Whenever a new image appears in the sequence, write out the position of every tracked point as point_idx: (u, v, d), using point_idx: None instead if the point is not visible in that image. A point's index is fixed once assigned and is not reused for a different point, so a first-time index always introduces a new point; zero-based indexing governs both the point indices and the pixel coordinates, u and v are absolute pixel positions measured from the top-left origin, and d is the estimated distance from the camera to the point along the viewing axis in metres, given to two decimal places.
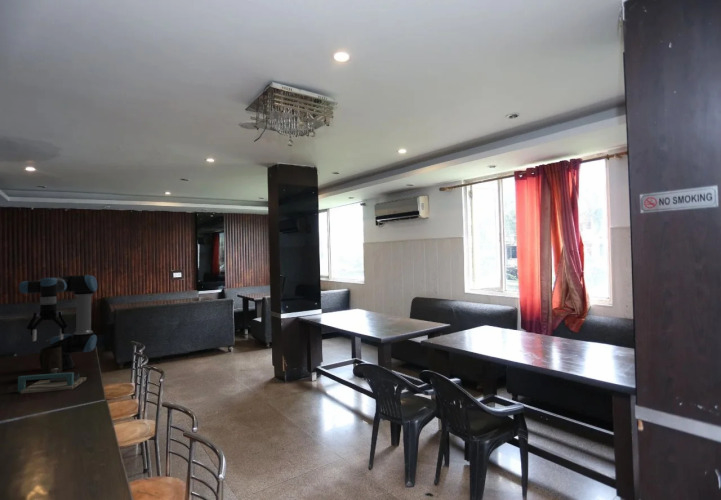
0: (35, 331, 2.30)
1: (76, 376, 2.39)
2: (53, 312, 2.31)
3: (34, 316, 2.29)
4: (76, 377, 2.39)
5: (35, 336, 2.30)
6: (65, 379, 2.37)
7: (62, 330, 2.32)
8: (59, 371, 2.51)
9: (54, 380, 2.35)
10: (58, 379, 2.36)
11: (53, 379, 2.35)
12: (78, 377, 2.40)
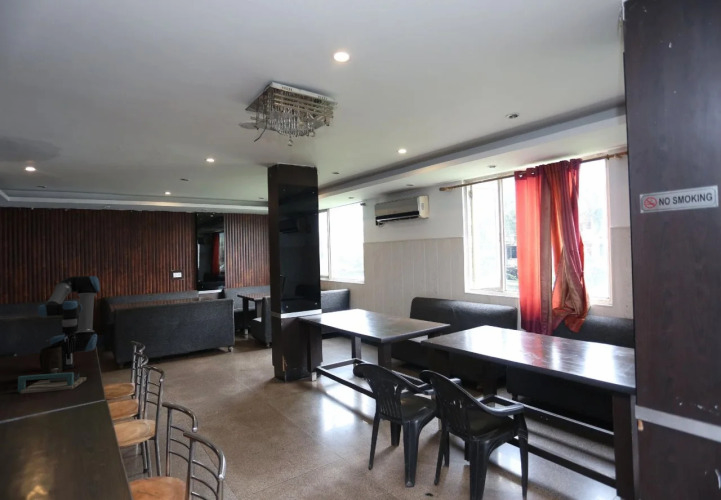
0: None
1: (76, 376, 2.39)
2: None
3: None
4: (76, 377, 2.39)
5: None
6: (65, 379, 2.37)
7: None
8: (59, 371, 2.51)
9: (54, 380, 2.35)
10: (58, 379, 2.36)
11: (53, 379, 2.35)
12: (78, 377, 2.40)
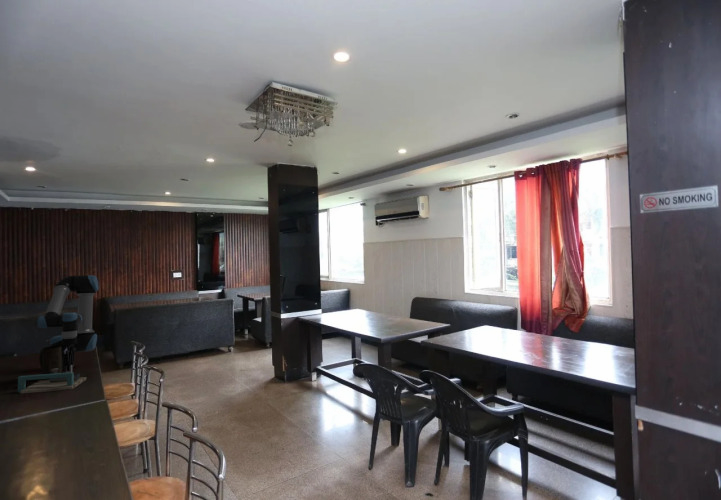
0: None
1: (76, 376, 2.39)
2: None
3: None
4: (76, 377, 2.39)
5: (69, 371, 2.45)
6: (65, 379, 2.37)
7: None
8: (59, 371, 2.51)
9: (54, 380, 2.35)
10: (58, 379, 2.36)
11: (53, 379, 2.35)
12: (78, 377, 2.40)
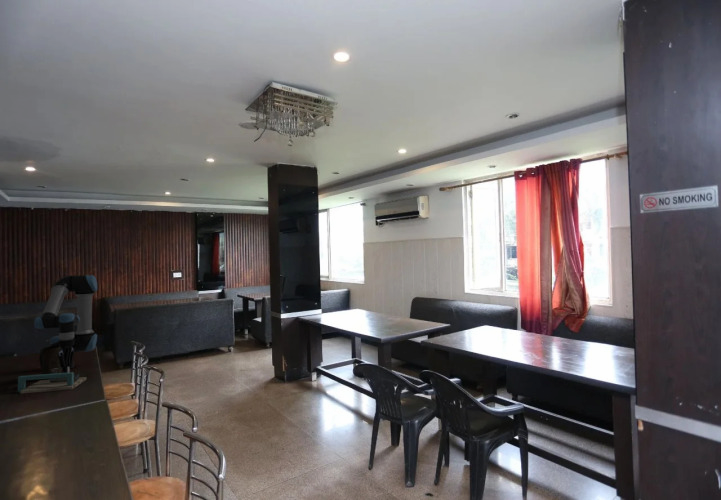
0: None
1: (75, 376, 2.38)
2: None
3: None
4: (76, 377, 2.38)
5: None
6: (65, 379, 2.37)
7: None
8: (59, 371, 2.51)
9: (54, 380, 2.35)
10: (58, 379, 2.36)
11: (53, 379, 2.35)
12: (77, 378, 2.39)
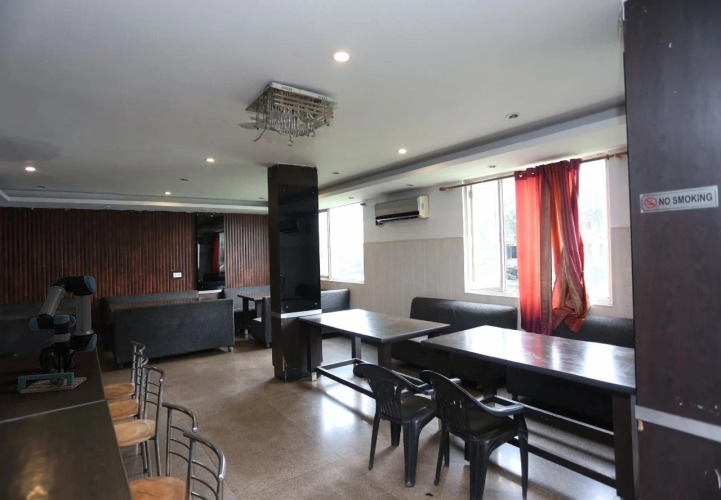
0: None
1: (57, 381, 2.28)
2: None
3: None
4: (57, 382, 2.28)
5: None
6: (54, 382, 2.32)
7: None
8: None
9: (50, 380, 2.35)
10: (52, 380, 2.34)
11: (50, 379, 2.35)
12: (59, 383, 2.29)
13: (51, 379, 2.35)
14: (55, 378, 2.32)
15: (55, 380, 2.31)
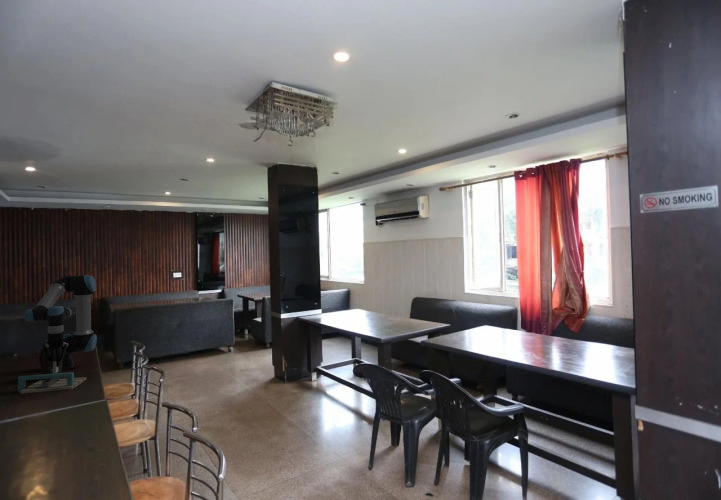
0: None
1: None
2: None
3: None
4: None
5: None
6: None
7: None
8: (59, 371, 2.51)
9: None
10: None
11: None
12: (43, 385, 2.25)
13: None
14: (47, 379, 2.30)
15: None
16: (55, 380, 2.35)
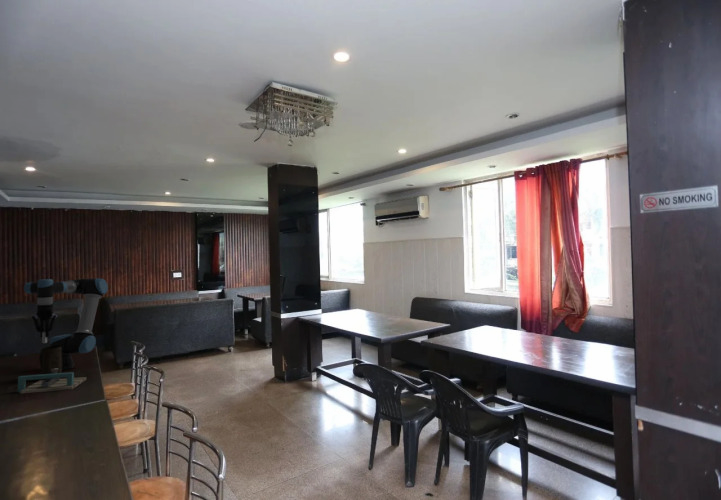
0: None
1: None
2: None
3: None
4: None
5: None
6: None
7: None
8: (59, 371, 2.51)
9: None
10: None
11: None
12: (43, 385, 2.25)
13: None
14: (47, 379, 2.30)
15: None
16: (55, 380, 2.35)
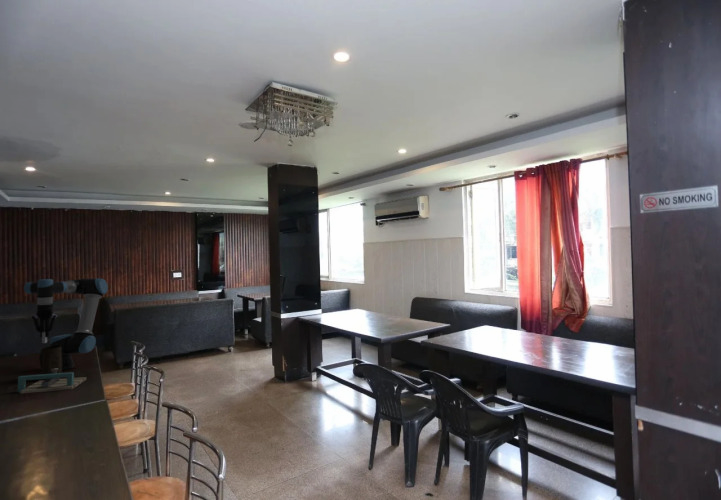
0: None
1: None
2: None
3: None
4: None
5: None
6: None
7: None
8: (59, 371, 2.51)
9: None
10: None
11: None
12: (43, 385, 2.25)
13: None
14: (47, 379, 2.30)
15: None
16: (55, 380, 2.35)
